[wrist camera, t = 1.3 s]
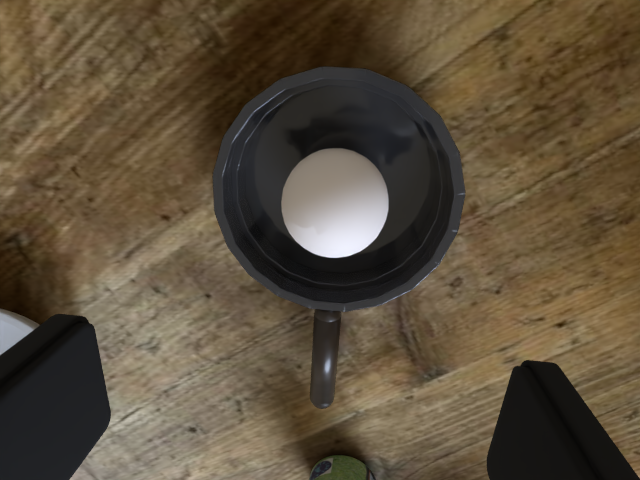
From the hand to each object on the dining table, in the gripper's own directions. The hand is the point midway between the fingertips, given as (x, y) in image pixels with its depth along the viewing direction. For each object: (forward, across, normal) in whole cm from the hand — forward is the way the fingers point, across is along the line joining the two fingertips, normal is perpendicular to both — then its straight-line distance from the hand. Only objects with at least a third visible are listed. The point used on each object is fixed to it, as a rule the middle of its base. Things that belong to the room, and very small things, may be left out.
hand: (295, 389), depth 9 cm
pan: (+18, 0, 0) cm, 19 cm away
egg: (+18, 0, 0) cm, 18 cm away
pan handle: (+16, 0, +11) cm, 20 cm away
